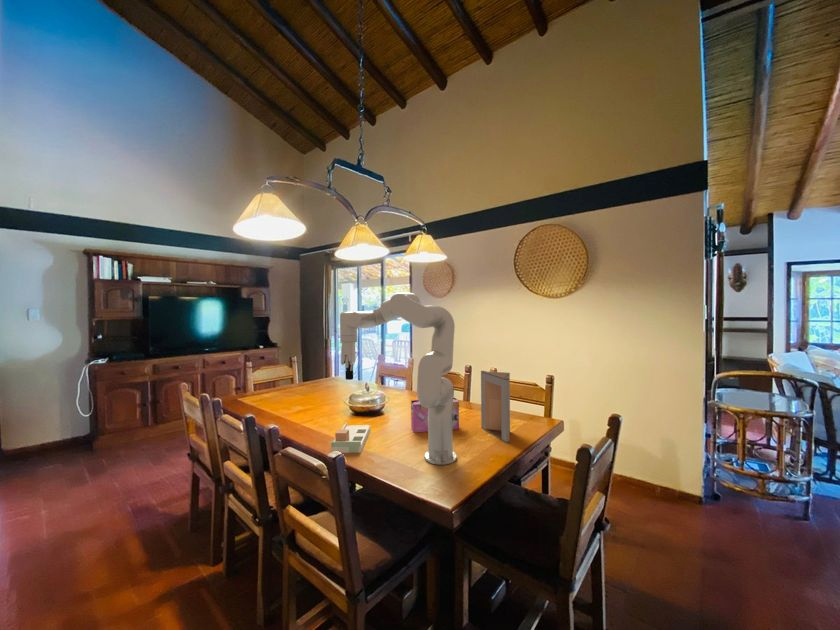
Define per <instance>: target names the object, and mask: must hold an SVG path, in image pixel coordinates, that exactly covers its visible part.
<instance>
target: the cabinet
mask: <svg viewBox="0 0 840 630" xmlns="http://www.w3.org/2000/svg"><path fill="white" fill-rule="evenodd" d="M510 374H511V373H510V372H501V371H500V372H499V371H487V370H481V371H480V409H481V410H480V411H481V413H480V414H481V415H480V417H481V418H480V419H481V423H480V425H481V429H483V430H484V431H486V432H488V433H489V434H491V435H492V436H494V437H495V438H497V439H499V440H500V441H502V442H504V443H505V444H509V443H510V433H511V386H510V385H511V384H510V383H511V382H510V380H511V379H510V376H511V375H510Z"/></svg>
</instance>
